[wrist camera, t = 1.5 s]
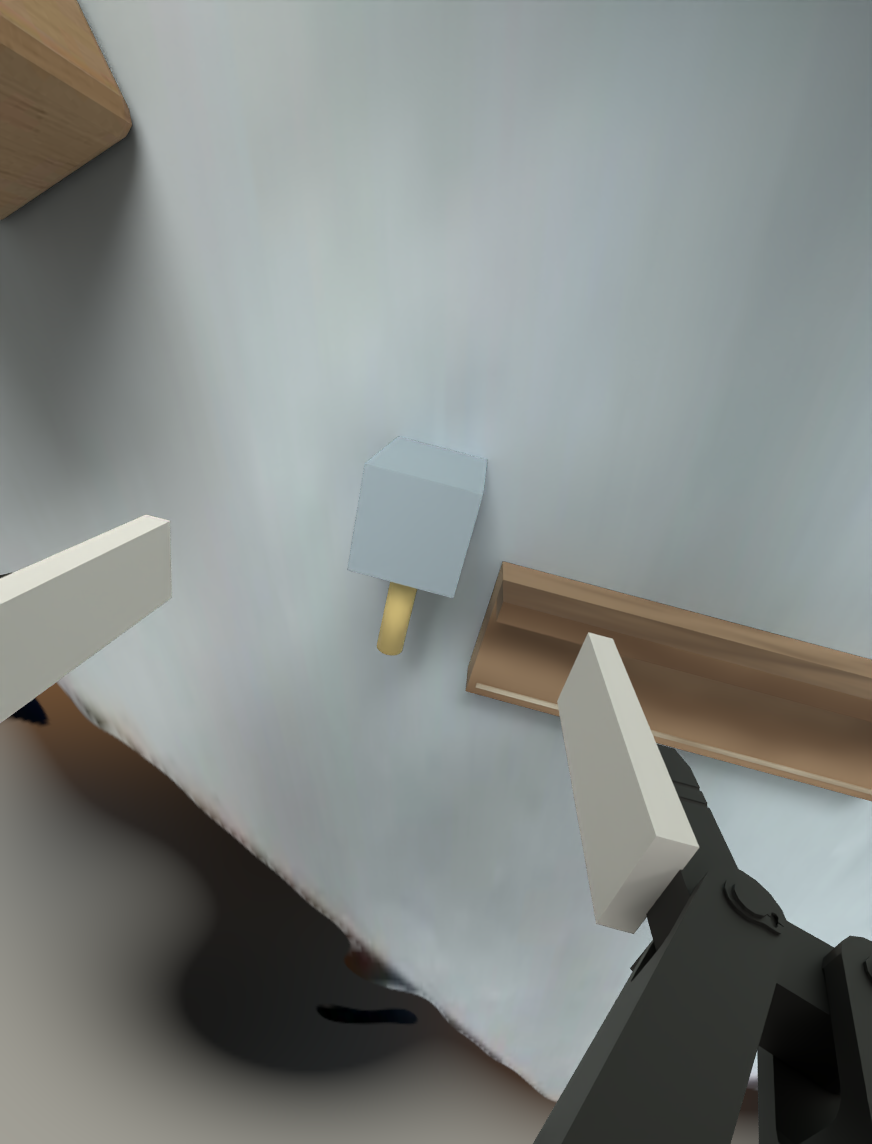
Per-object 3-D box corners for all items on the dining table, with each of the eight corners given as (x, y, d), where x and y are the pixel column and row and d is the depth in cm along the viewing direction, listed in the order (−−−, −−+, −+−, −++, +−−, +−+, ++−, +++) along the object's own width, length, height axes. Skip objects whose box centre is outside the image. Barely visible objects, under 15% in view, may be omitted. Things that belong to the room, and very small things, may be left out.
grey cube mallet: (398, 436, 25) (364, 463, 19) (487, 459, 25) (483, 494, 19) (368, 592, 30) (333, 656, 23) (444, 612, 30) (429, 682, 23)
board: (502, 561, 28) (503, 601, 23) (967, 685, 27) (1059, 750, 23) (468, 666, 31) (462, 719, 27) (878, 777, 31) (943, 850, 26)
